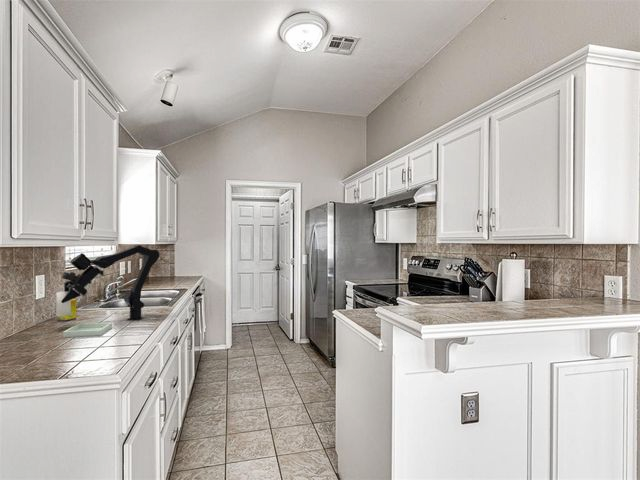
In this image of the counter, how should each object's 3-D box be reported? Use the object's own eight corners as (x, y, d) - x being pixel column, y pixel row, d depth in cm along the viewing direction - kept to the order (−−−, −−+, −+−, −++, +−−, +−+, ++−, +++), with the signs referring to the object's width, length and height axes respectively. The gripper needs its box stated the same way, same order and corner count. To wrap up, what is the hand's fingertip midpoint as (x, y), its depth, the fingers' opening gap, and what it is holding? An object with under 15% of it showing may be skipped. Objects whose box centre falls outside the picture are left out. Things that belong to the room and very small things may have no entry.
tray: (77, 329, 173) (77, 323, 173) (112, 327, 176) (112, 322, 176) (62, 337, 158) (63, 331, 158) (100, 336, 161) (100, 330, 161)
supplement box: (57, 320, 189) (57, 299, 189) (68, 318, 194) (68, 298, 194) (65, 321, 187) (65, 300, 187) (76, 319, 193) (76, 298, 193)
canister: (59, 314, 174) (59, 291, 174) (72, 313, 175) (72, 291, 175) (54, 316, 168) (54, 293, 168) (67, 316, 170) (67, 292, 170)
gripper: (68, 264, 181) (40, 288, 172) (79, 267, 168) (50, 293, 160) (86, 279, 187) (60, 303, 178) (98, 282, 174) (71, 308, 166)
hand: (60, 301), depth 171 cm, fingers closed on canister, 5 cm apart
